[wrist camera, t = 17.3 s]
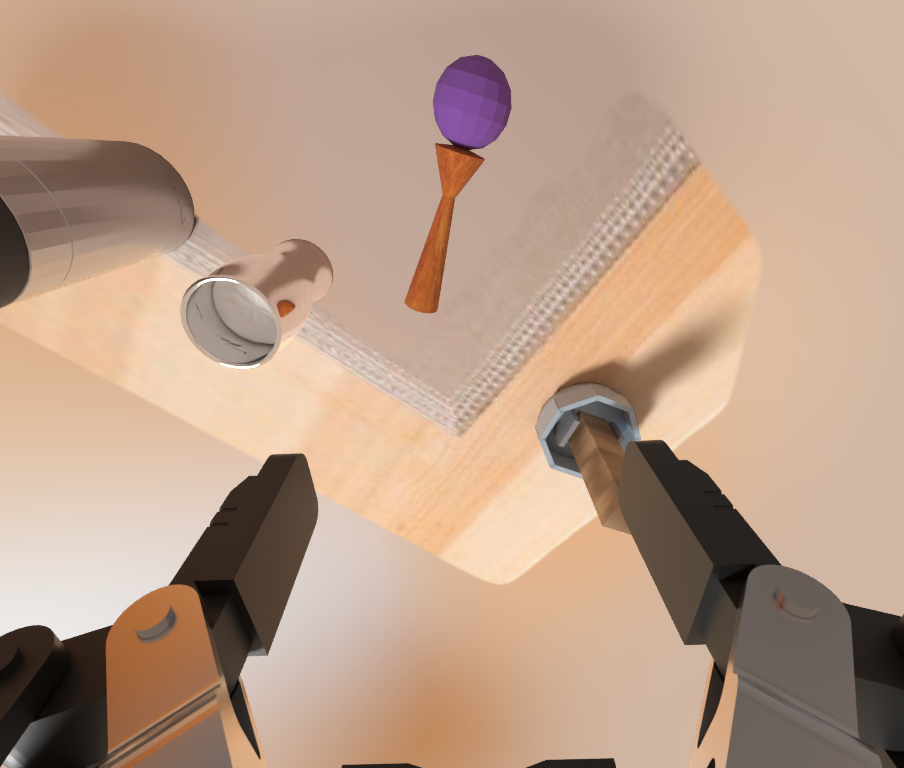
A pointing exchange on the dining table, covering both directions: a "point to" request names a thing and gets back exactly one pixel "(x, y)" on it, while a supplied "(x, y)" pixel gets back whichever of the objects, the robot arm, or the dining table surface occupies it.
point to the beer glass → (255, 303)
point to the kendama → (458, 156)
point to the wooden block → (600, 467)
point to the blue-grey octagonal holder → (562, 421)
